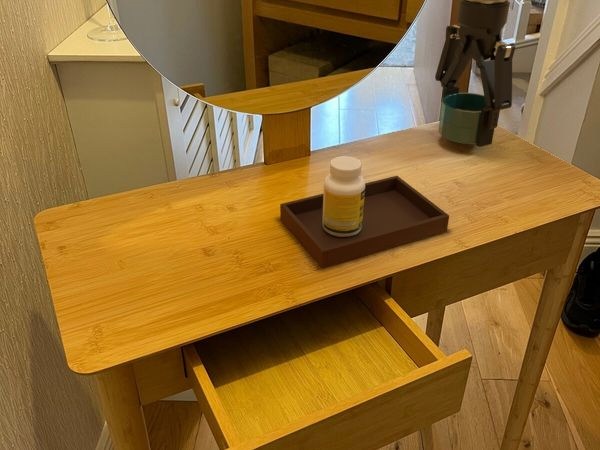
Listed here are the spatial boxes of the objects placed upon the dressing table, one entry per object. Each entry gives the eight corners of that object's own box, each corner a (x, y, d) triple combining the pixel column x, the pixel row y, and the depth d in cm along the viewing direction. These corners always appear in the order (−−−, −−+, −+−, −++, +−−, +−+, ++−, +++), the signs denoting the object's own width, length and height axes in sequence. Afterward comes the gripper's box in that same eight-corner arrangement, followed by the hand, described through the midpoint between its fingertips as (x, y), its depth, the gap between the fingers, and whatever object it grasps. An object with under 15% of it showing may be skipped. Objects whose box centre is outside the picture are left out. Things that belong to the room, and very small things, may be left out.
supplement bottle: (365, 237, 83) (370, 171, 77) (325, 239, 82) (327, 173, 77) (358, 215, 87) (362, 152, 82) (319, 217, 87) (321, 154, 81)
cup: (500, 133, 108) (506, 100, 105) (478, 151, 102) (483, 116, 99) (452, 120, 113) (457, 88, 110) (428, 137, 107) (432, 103, 104)
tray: (395, 190, 95) (397, 175, 93) (447, 231, 85) (449, 215, 84) (280, 219, 87) (280, 203, 86) (322, 268, 78) (322, 251, 76)
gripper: (422, -14, 102) (410, 115, 114) (516, 16, 86) (490, 163, 98) (459, -18, 105) (443, 108, 117) (557, 10, 89) (527, 154, 101)
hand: (464, 133), depth 107 cm, fingers closed on cup, 9 cm apart
